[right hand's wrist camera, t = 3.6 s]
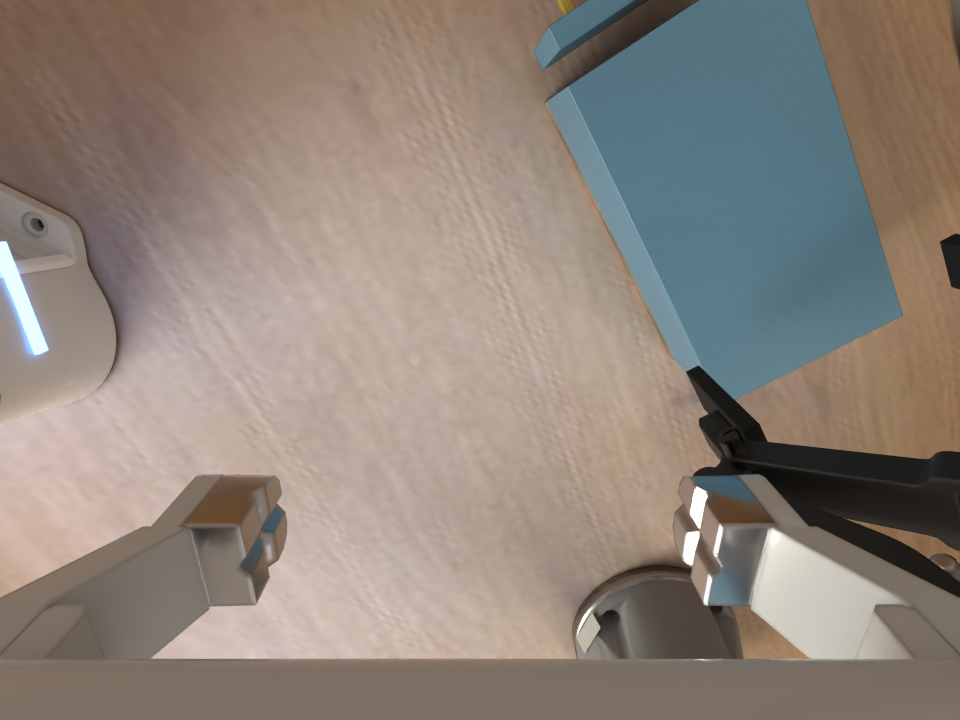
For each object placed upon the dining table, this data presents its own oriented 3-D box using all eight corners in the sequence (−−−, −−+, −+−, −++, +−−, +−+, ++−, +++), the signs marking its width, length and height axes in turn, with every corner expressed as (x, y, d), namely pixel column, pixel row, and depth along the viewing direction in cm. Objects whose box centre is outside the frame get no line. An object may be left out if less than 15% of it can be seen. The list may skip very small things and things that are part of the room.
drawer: (484, -47, 29) (488, -99, 23) (646, -165, 27) (695, -255, 21) (660, 312, 37) (697, 342, 31) (794, 238, 35) (860, 255, 29)
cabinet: (544, 103, 33) (566, 86, 25) (707, -5, 31) (789, -60, 23) (670, 356, 40) (720, 407, 32) (812, 281, 38) (903, 315, 30)
